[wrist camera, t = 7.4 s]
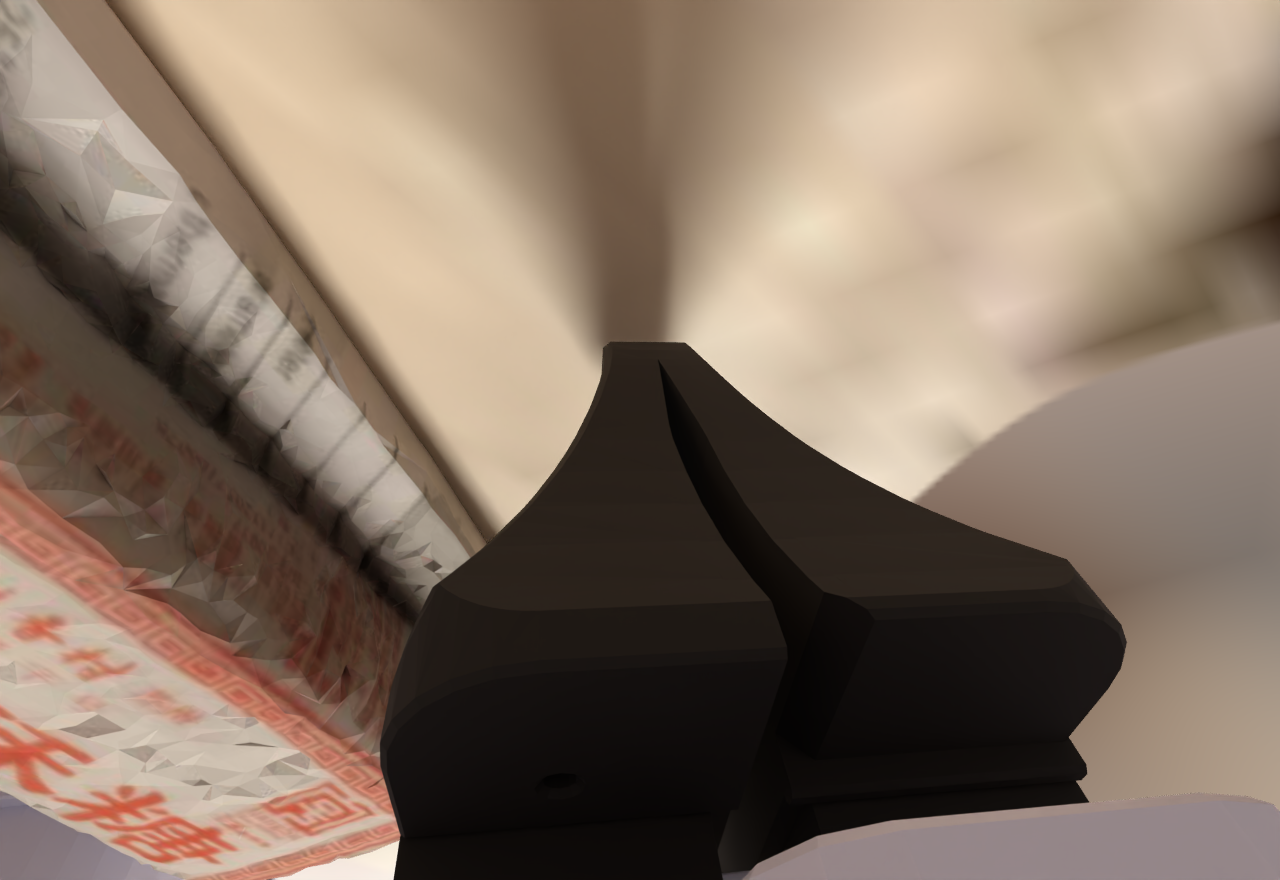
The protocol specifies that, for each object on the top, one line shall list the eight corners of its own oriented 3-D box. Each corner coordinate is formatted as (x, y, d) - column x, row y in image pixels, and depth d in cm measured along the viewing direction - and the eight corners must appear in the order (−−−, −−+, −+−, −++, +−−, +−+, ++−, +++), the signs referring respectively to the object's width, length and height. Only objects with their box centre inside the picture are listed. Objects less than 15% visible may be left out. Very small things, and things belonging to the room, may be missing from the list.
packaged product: (574, 828, 13) (135, 953, 14) (568, 624, 17) (222, 735, 18) (-1452, -1188, 2) (-2526, -14, 4) (-217, -499, 6) (-934, -44, 7)
